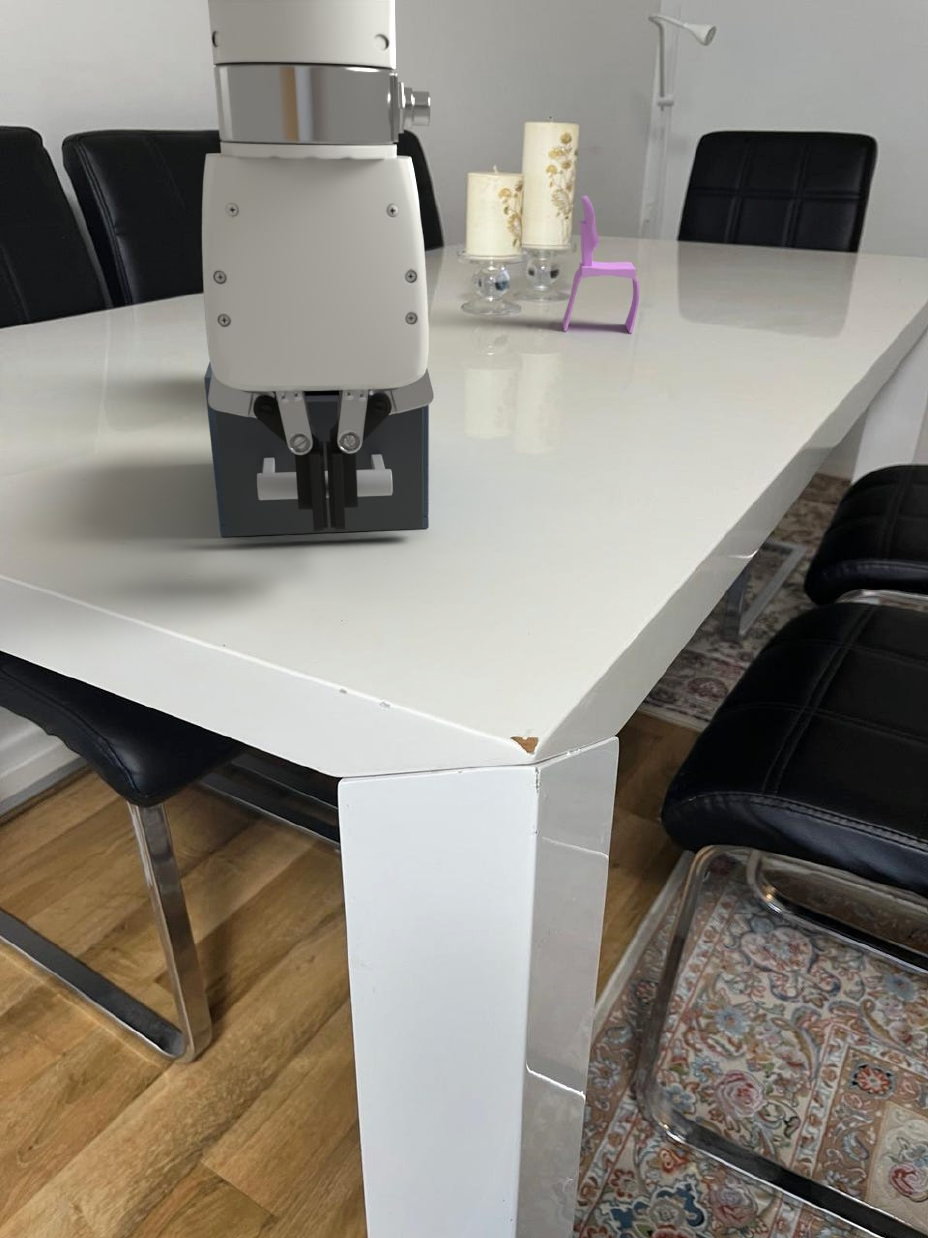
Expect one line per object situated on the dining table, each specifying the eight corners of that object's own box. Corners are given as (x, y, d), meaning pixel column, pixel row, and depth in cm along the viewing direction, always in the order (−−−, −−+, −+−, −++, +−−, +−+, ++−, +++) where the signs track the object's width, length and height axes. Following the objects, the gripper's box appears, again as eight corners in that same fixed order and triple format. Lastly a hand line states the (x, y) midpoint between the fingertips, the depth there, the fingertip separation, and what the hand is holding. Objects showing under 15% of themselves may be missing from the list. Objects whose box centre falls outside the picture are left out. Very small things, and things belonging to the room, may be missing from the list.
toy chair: (637, 335, 116) (650, 199, 109) (564, 332, 116) (572, 197, 109) (630, 322, 123) (643, 194, 116) (562, 320, 124) (570, 192, 117)
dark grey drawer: (433, 560, 53) (434, 421, 50) (222, 570, 51) (207, 427, 48) (400, 458, 69) (399, 347, 65) (238, 463, 67) (228, 350, 64)
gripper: (467, 122, 45) (461, 491, 54) (139, 116, 43) (186, 501, 52) (496, 122, 39) (484, 543, 47) (111, 115, 37) (170, 557, 45)
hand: (328, 520), depth 49 cm, fingers closed
